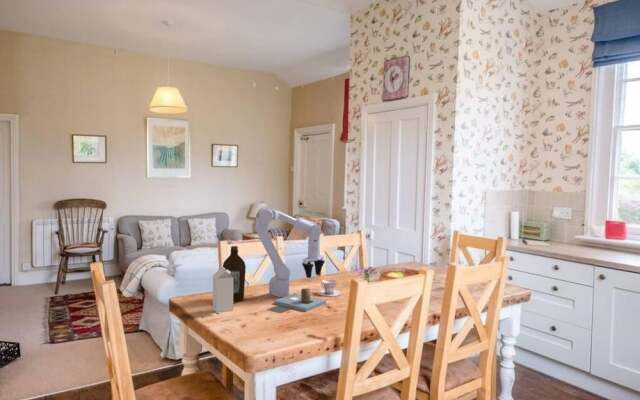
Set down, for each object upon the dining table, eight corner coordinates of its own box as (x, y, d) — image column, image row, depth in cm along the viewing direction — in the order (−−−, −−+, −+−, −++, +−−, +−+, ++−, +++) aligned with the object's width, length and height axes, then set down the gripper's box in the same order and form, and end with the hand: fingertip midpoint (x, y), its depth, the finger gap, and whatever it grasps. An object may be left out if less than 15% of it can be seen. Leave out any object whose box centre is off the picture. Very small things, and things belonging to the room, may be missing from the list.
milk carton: (216, 314, 183) (216, 269, 182) (212, 309, 190) (212, 266, 188) (233, 312, 187) (233, 268, 185) (228, 307, 193) (229, 265, 192)
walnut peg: (299, 307, 196) (299, 289, 195) (304, 305, 199) (304, 287, 199) (306, 309, 194) (306, 291, 193) (311, 306, 197) (312, 289, 196)
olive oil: (225, 295, 211) (226, 244, 210) (247, 296, 210) (248, 245, 209) (219, 302, 201) (219, 248, 199) (242, 303, 200) (242, 248, 198)
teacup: (345, 293, 222) (345, 280, 222) (333, 298, 212) (334, 285, 211) (325, 289, 228) (325, 277, 228) (312, 294, 218) (313, 282, 218)
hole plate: (274, 305, 197) (274, 300, 197) (294, 298, 209) (294, 292, 209) (306, 314, 187) (306, 307, 187) (326, 305, 199) (326, 299, 199)
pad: (266, 311, 188) (266, 309, 188) (278, 307, 195) (278, 305, 195) (280, 315, 184) (280, 313, 184) (292, 311, 190) (292, 308, 190)
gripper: (311, 251, 207) (311, 280, 207) (328, 247, 218) (328, 274, 219) (299, 249, 211) (299, 277, 211) (317, 246, 223) (316, 272, 223)
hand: (313, 276), depth 216 cm, fingers open, 7 cm apart
